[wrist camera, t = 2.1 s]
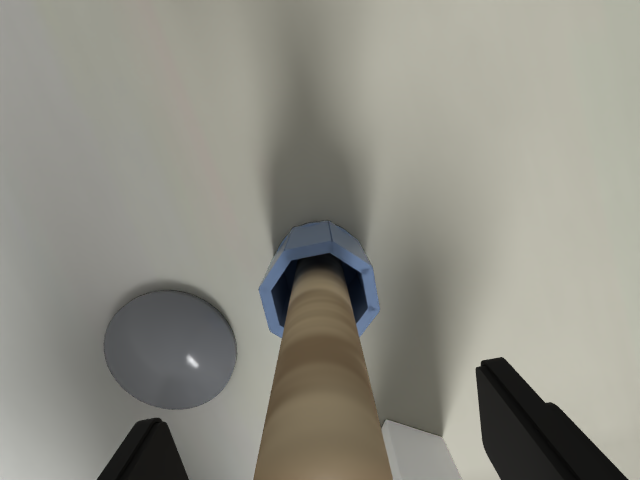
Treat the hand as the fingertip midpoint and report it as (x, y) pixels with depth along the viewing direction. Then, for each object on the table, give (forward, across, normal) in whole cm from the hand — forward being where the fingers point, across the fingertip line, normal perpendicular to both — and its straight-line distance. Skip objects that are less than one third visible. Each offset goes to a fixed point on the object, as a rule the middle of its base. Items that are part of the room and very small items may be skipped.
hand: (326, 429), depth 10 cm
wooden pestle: (+17, 0, +1) cm, 17 cm away
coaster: (+17, +14, +6) cm, 23 cm away
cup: (+17, 0, +1) cm, 17 cm away
